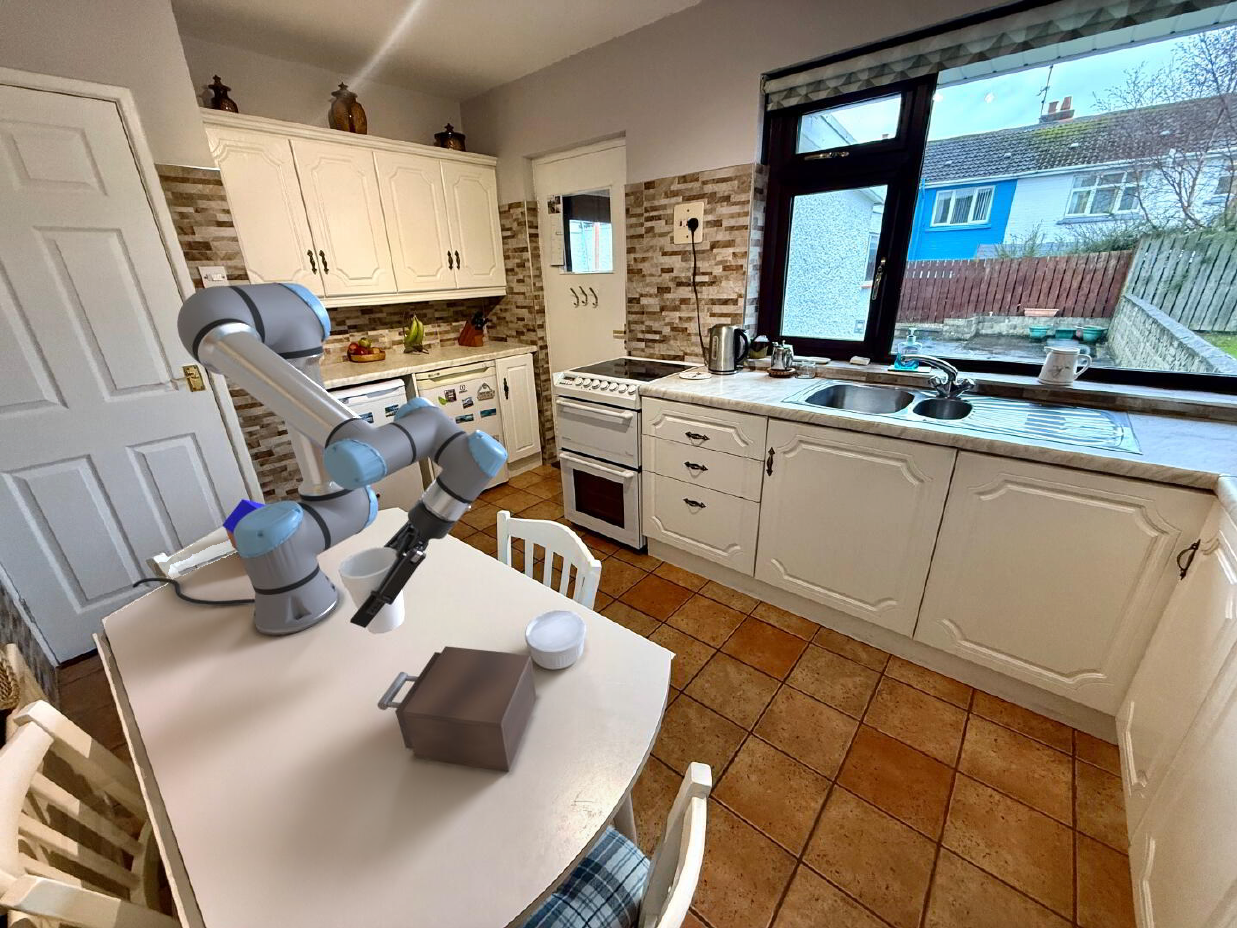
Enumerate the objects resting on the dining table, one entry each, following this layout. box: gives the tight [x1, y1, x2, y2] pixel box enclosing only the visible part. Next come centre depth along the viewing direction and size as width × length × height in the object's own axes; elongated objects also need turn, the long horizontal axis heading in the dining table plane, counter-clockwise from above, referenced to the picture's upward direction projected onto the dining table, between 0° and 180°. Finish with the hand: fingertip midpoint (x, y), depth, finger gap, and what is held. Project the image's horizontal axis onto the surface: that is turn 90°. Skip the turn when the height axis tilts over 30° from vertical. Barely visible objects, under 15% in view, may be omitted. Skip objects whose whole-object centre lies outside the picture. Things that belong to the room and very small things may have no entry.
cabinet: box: [403, 645, 537, 772], centre depth 74 cm, size 15×13×10 cm
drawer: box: [376, 651, 441, 750], centre depth 75 cm, size 19×11×8 cm, turn 81°
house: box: [221, 498, 266, 551], centre depth 124 cm, size 12×20×12 cm, turn 54°
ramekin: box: [524, 609, 587, 670], centre depth 89 cm, size 11×11×5 cm
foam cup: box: [338, 546, 405, 635], centre depth 86 cm, size 10×9×13 cm
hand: (361, 605), depth 86 cm, fingers closed on foam cup, 9 cm apart
